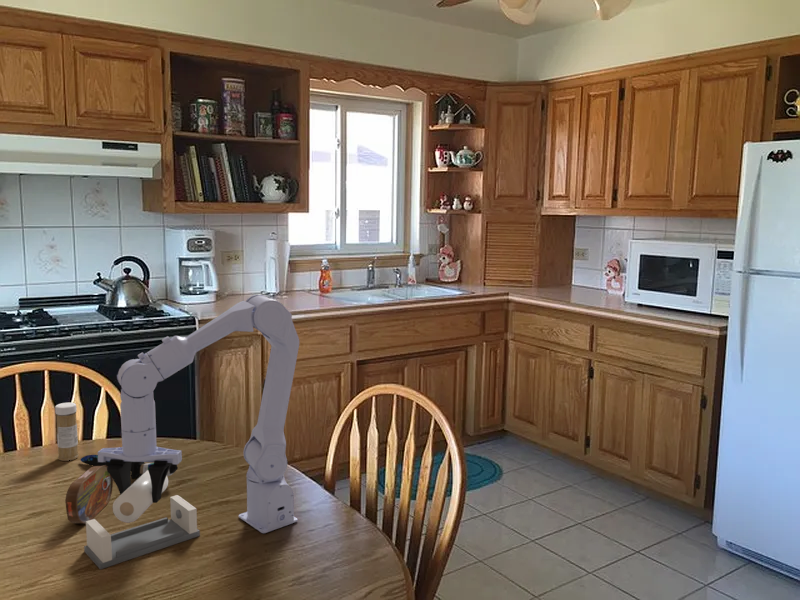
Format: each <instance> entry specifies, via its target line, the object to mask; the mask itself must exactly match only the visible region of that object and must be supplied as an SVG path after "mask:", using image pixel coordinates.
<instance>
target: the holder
mask: <svg viewBox="0 0 800 600" xmlns="http://www.w3.org/2000/svg"><path fill="white" fill-rule="evenodd" d="M169 500H170V503H169V504H170V519H169V518H168V517H167V516H166V517H163V518H159V519H157V520H154V521H150V522H146V523H144V524H140V525H137V526H134V527H133V526H132V527H131V528H127V529H123V530H121V531H118V532H115V533H110V532H109V531H107V529H106V528H105V527H103V526H102V524H100V522H99V521H97V519H96V518H93V519H92V520H89V521H86V524H85V531H86V532H85V533H86V545H85V546H84V547H83V550H84V553H85V554H86V555H87V556H88V558H89V559H90V560H91V561H92V562H93V563H94V564H95V566H96V567H98V569H99V570H103V569H106V568H109V567H112V566H115V565H118V564H120V563H123V562H127V561H129V560H132V559H136V558H138V557H141V556H143V555H144V556H145V555H148V554H150V553H153V552H156V551H158V550H163V549H165V548H168V547H171V546H173V545H177V544H179V543H183V542H186V541H189V540H192V539H194V538H198V537H200V535H201V532H200V529H198V515H197V514H198V513H197V511H198V510H197V508H196V507H195V506H193V505H192V504H191V503H190V502H188V501H187V500H185V499H184V498H183V497H181V496H180V495H178V494H175V495H173V496H170V497H169Z"/></svg>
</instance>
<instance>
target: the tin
mask: <svg viewBox="0 0 800 600" xmlns="http://www.w3.org/2000/svg"><path fill="white" fill-rule="evenodd" d="M107 467H108V466H106V465H103V466H91V467H89V468H88V469H87V470H85V472H83V473H82V474H81V475H80V476H79V477H78V478H76V479H75V480H74V481H73V482H72V483H71V484H70V485H69V486H68V489H67V492H66V494H65V495H66V496H65V501H64V503H65V511H66V515H67V516H66V517H67V520H68V521H69V522H70V523H72V524H85V525H86V521H89V520H92V519H95V517H96V516H97V515H98V514H99V513H100V512H101V511H102V510H103V509H104V508H105V507H106V506H107V505H108V503H109V502H110V500H111V497H112V493H113V484H114V480H113V478H112V477H111V475H110V474H109V473H108V472H107Z"/></svg>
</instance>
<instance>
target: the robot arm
mask: <svg viewBox="0 0 800 600" xmlns="http://www.w3.org/2000/svg"><path fill="white" fill-rule="evenodd" d="M255 329H256V330H257V331H259V332H260V333H261V335H262V336H263V338H265V340H266V342H268V343H269V345H270V346H271V347H270V352H269V359H268V362H267V368H266V373H265V374H266V375H265V379H264V386H263V391H262V396H261V402H260V408H259V412H258V417H257V423H256V425H255V426H254V427H253V428H252V430H251V434H250V437H249V440H248V441H247V442H246V443H245V446H244V448H243V458H244V460H245V462H246V463H247V464H248V465H249V466H248V469H247V472H246V507H247V508H246V511H245V512H242V513H239V514H238V518H239V519H241V520H242V521H244V522H246V523H247V524H248V525H250V526H251V527H252V528H254V529H255V530H257V531H258V532H260V533H261V534H266V533H269V532H273V531H274V530H277V529H280V528H283V527H286V526H288V525H292V524H293V523H297V522H298V518H297V517H295V508H294V507H295V500H294V499H295V496H294V495H295V494H294V490H293V488H292V486H290V485H289V484H288V483H287V481H286V478H285V472H286V470H287V467H288V459H287V456H286V448H287V441H286V436H285V433H284V432H285V431H284V429H285V424H286V418H287V412H288V407H289V403H290V397H291V391H292V387H293V381H294V377H295V371H296V370H295V369H296V366H297V365H296V364H297V359H298V354H299V353H298V352H299V350H300V349H299V348H300V338H299V335H298V331H297V330H296V327H295V324H294V321H293V314H292V312H290V310H288V309H287V308H286V306H285V305H284V304H283V303H281V302H280V301H278V300H275V299H272V298H269V297H268V296H266V295H264V294H253V295H251V296H249V297H248V298H247V299H246V300H242V301H239V302H236V303H235V304H234V305H233V306H231V307H229V308H228V309H227V310H225V311H224V312H222V313H221V314H219V315H218V316H215V318H213V319H212V320H210V321H208V322H207V323H206V324H204V325H202V326H201V327H199V328H197V329H196V330H195V331H193V332H192V333H190V334H189V335H187V336H179V335H173V336H172V337H171V338H170V337H169V336H168V335H167V336H166V337H163V338H162V339H161V341H162V343H161V344H159V345H157V346H155V347H154V348H152V349H150V350H149V351H147V352H145V353H144V352H141V353H139V354H137V357H138V358H135V359H134V358H133V359H129V360H127V361H125V362H124V363H123V364H121V366H120V368H119V369H118V372H117V374H116V379H117V382H118V383H119V385H120V386H121V389H120V400H121V401H120V404H119V405H120V407H119V409H120V425H121V426H120V427H121V445H122V446H121V447H120V446H118V447H102V448H101V449H100V450H98V451H97V455H98V462H105V461H110V464H109V466H108V467H107V472H108V473H109V474H110V475H111V477H112V479H113V482H114V483H115V485H116V487H117V490H118V493H119V494H120V495H121V494H122V493H123V492H124V491H125V490H126V489H128V488H129V487H130V486H131V485H132V482H131V481H132V480H131V479H132V478H131V465H132V462H144V463H154V464H153V465H152V466H151V467H150V468H148V471H149V474H150V478H151V484H152V501H153V503H152V504H155V503H156V504H157V503H158V502H159V501H160V500H161V499H162V494H163V493H162V489H163V485H164V481H165V478H166V475H167V473H168V471H169V468H170V466H171V464H177V465H179V464H180V463H181V462H182V460H183V457H182V455H183V454H182V452H183V451H182V450H179V449H178V450H177V449H171V448H166V447H160V446H157V445H158V444H157V424H156V423H157V422H156V421H157V420H156V402H155V400H154V398H155V397H154V390H155V389H156V387H157V386H158V385H157V384H158V383H159V382H163V381H165V380H167V378H170V377H171V376H173V375H174V374H176V373H178V371H181V370H182V369H184V368H185V367H187V366H189V365H190V364H192V363H193V362H194V359H195V356H196V354H197V352H199V351H201V350H203V349H205V348H207V347H209V346H211V345H212V344H214V343H216V342H218V341H219V340H221V339H223V338H225V337H226V336H228V335H230V334H232V333H235V332H246V333H247V332H249V333H250V332H251V333H253V332H254V330H255ZM120 495H119V496H120Z"/></svg>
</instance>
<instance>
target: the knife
mask: <svg viewBox="0 0 800 600" xmlns="http://www.w3.org/2000/svg"><path fill="white" fill-rule="evenodd" d="M80 462H82V463H84V464H85V465H88V464H89V465H88V466H91V465H93V466H92V467H94V466H103V465H106V466H109V464H110V461H105V462H98V454H88V455H85V456H82V457H81V458H80ZM153 464H154V462H132V465H131V479H132V480H134V479H136V478H137V479H138V478H140V477H141V476H142V475H143V474H144V473H145V472H146V471H147V470H148V468H150V467H151V466H152V465H153ZM178 468H179V467H178V464H171V466H170V468H169V471H168V473H167V477H169V476H172V475H174V473H176V471H177V470H178Z"/></svg>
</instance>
